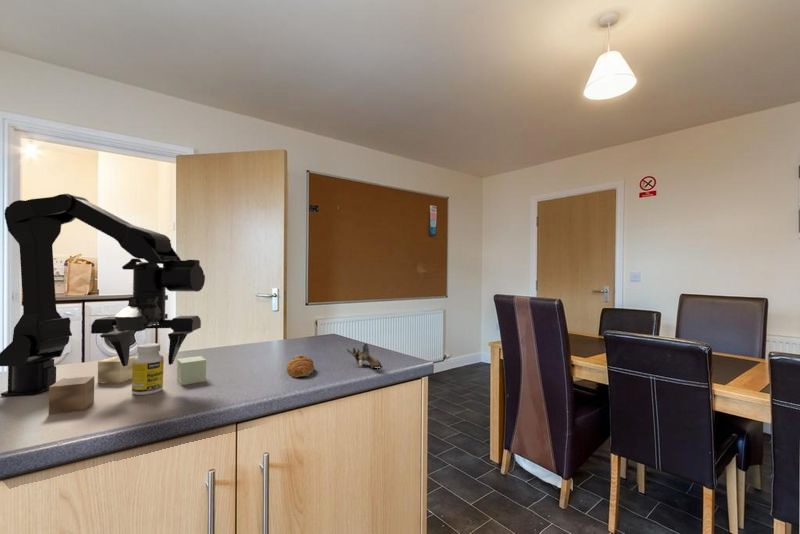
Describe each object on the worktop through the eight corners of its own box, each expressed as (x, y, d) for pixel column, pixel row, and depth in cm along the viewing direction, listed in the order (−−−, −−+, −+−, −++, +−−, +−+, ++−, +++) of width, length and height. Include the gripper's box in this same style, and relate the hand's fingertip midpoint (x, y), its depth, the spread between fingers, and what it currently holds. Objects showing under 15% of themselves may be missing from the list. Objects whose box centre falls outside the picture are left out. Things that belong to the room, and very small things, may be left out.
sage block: (181, 385, 82) (181, 363, 82) (177, 380, 85) (177, 358, 85) (205, 381, 85) (206, 359, 85) (200, 376, 89) (201, 355, 89)
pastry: (316, 377, 89) (316, 362, 89) (287, 380, 86) (287, 364, 86) (312, 368, 97) (312, 354, 98) (285, 370, 95) (285, 356, 95)
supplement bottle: (147, 396, 74) (148, 348, 74) (125, 394, 75) (126, 346, 75) (169, 388, 79) (170, 343, 79) (148, 386, 80) (149, 342, 80)
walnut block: (48, 415, 64) (49, 386, 64) (60, 405, 69) (61, 379, 69) (84, 410, 66) (85, 383, 66) (93, 401, 71) (94, 376, 71)
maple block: (97, 383, 82) (97, 361, 83) (114, 377, 87) (115, 356, 88) (119, 383, 82) (120, 361, 83) (135, 377, 87) (136, 356, 88)
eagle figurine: (341, 362, 98) (364, 361, 93) (349, 338, 102) (372, 336, 96) (360, 373, 103) (383, 373, 97) (367, 349, 106) (390, 348, 101)
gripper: (72, 293, 68) (70, 377, 68) (182, 293, 71) (180, 373, 71) (108, 290, 79) (107, 363, 79) (202, 290, 82) (201, 360, 82)
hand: (148, 365), depth 77 cm, fingers open, 8 cm apart
